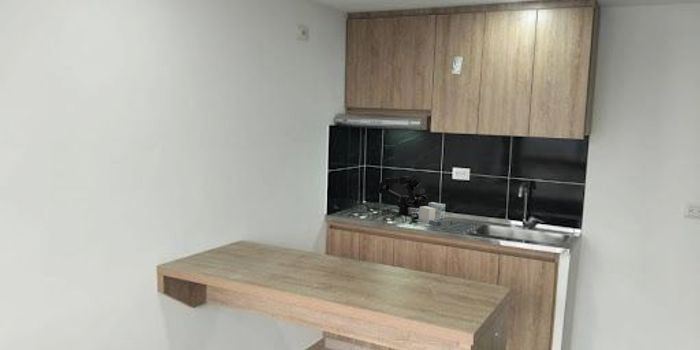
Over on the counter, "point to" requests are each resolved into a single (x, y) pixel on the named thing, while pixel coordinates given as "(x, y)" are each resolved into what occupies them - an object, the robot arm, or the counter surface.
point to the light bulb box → (438, 209)
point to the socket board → (438, 222)
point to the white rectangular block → (426, 213)
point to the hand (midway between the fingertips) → (422, 209)
